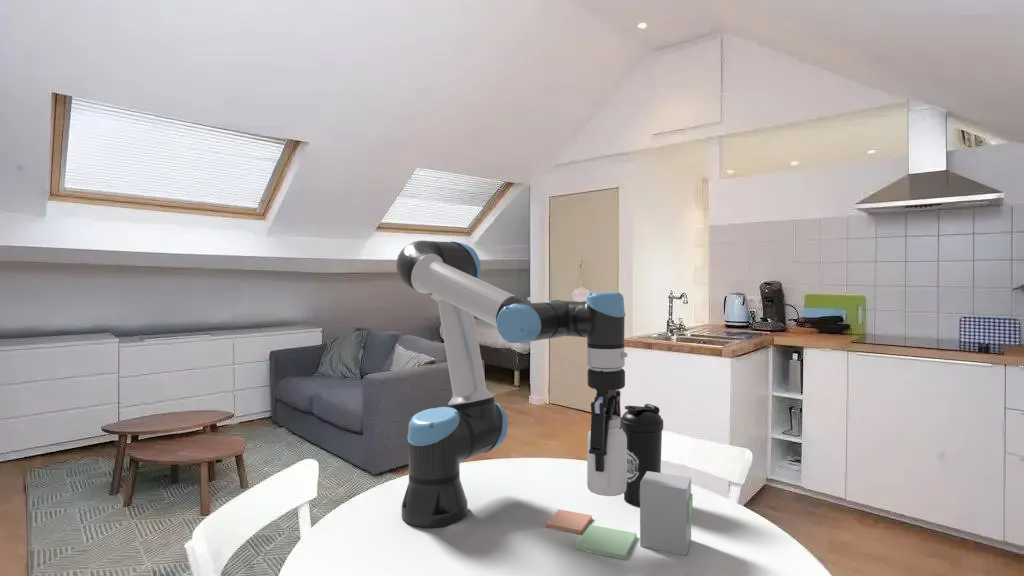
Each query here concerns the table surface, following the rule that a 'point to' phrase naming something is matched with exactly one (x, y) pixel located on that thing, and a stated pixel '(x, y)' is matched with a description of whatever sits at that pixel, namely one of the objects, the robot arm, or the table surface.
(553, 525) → the terracotta pad
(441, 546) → the table surface
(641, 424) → the water bottle
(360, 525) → the table surface
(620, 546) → the green pad
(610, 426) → the pill bottle
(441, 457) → the robot arm
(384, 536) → the table surface
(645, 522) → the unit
